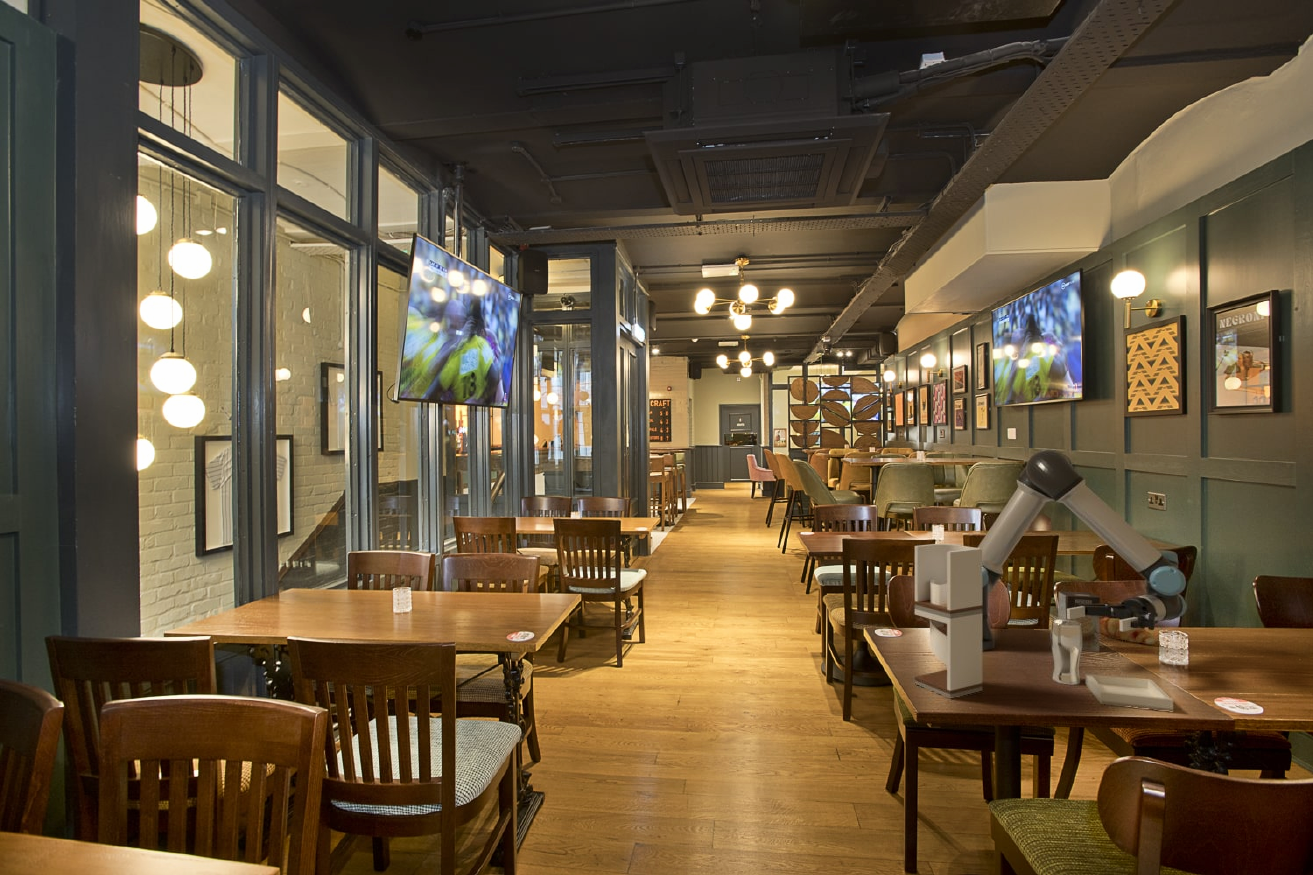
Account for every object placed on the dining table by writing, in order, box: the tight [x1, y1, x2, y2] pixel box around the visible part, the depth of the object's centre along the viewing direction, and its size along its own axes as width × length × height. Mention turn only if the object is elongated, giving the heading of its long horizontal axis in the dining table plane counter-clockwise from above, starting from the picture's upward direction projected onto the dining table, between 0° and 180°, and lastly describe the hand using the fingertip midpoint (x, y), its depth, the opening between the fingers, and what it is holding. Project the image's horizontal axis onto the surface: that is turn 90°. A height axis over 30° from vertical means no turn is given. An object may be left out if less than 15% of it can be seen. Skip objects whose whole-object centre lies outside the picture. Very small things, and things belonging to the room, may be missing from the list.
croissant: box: [1099, 616, 1157, 645], centre depth 211 cm, size 21×10×8 cm, turn 21°
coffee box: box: [1057, 590, 1101, 652], centre depth 200 cm, size 9×6×16 cm
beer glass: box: [1050, 618, 1082, 686], centre depth 172 cm, size 7×7×15 cm
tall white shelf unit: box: [914, 542, 983, 698], centre depth 167 cm, size 11×11×35 cm
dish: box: [1084, 672, 1174, 712], centre depth 161 cm, size 14×14×3 cm
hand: (1093, 619), depth 176 cm, fingers open, 13 cm apart
